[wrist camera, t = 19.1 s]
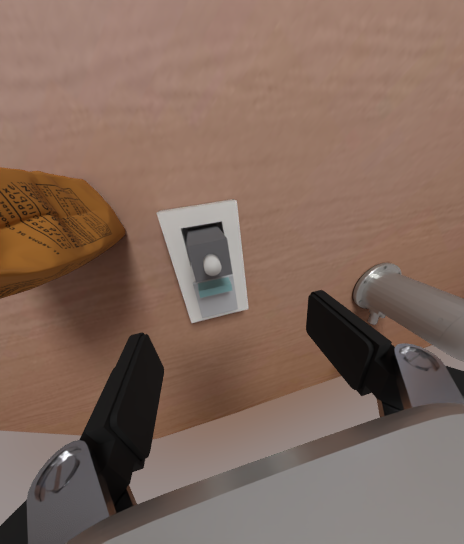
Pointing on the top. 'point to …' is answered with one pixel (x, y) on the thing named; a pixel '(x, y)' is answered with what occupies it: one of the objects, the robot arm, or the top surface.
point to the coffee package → (49, 228)
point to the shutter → (216, 295)
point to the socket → (176, 240)
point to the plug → (208, 252)
